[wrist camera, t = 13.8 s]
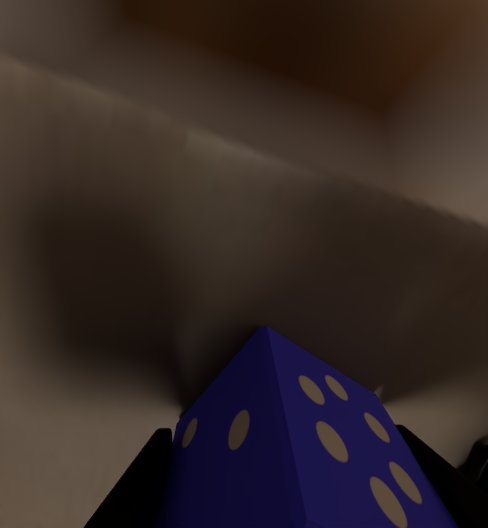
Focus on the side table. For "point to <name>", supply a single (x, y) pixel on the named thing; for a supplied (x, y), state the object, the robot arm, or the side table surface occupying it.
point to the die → (293, 451)
